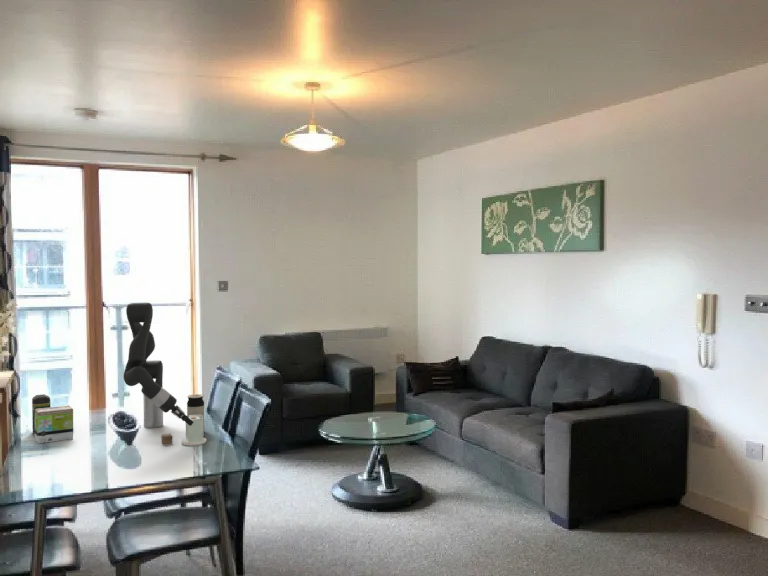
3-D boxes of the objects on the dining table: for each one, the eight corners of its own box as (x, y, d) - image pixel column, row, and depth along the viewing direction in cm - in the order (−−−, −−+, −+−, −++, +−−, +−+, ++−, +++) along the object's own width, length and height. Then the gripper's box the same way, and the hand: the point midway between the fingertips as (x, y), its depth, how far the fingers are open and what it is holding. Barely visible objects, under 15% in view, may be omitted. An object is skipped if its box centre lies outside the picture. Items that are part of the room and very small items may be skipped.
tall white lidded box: (187, 436, 310) (187, 415, 310) (200, 434, 313) (200, 413, 313) (190, 439, 305) (190, 417, 304) (203, 437, 308) (203, 416, 307)
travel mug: (194, 435, 312) (193, 397, 311) (184, 432, 316) (183, 395, 316) (208, 431, 318) (207, 395, 317) (197, 429, 323) (197, 393, 322)
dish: (179, 441, 300) (179, 439, 300) (203, 438, 306) (203, 435, 306) (184, 447, 291) (184, 444, 291) (209, 443, 296) (208, 441, 296)
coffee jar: (52, 433, 317) (51, 395, 316) (33, 436, 313) (32, 397, 312) (49, 429, 325) (49, 392, 324) (31, 432, 321) (30, 394, 320)
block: (161, 443, 298) (161, 434, 298) (170, 442, 300) (170, 433, 300) (163, 445, 295) (163, 436, 295) (172, 444, 297) (172, 435, 296)
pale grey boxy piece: (185, 439, 299) (185, 417, 299) (199, 437, 302) (198, 415, 302) (188, 442, 294) (188, 419, 294) (202, 440, 297) (201, 418, 296)
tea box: (38, 444, 298) (37, 412, 297) (34, 439, 306) (33, 408, 305) (74, 439, 307) (73, 407, 306) (69, 435, 315) (69, 404, 314)
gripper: (172, 395, 286) (199, 418, 292) (166, 390, 299) (192, 412, 305) (160, 409, 284) (187, 432, 290) (154, 403, 296) (180, 425, 302)
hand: (189, 422), depth 297 cm, fingers open, 8 cm apart
